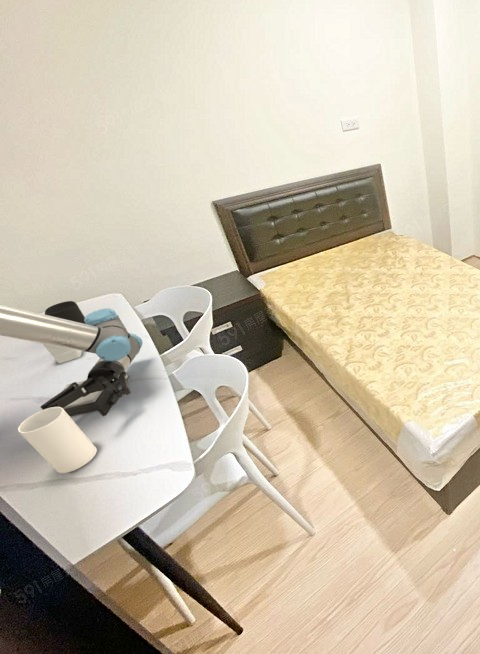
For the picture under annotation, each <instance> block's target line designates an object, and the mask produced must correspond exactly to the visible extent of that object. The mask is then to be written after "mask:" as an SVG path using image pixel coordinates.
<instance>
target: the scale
mask: <svg viewBox="0 0 480 654" xmlns="http://www.w3.org/2000/svg"><path fill="white" fill-rule="evenodd" d="M84 381H85V380H81V381H75V382H76V383H77V384H81V383H83V382H84ZM71 384H72V383H68V384H66V385H65V387H64V388H63V389H62V391H63V390H65V389H66V388H68V387H69V386H70V385H71ZM119 384H120V381H118V382H117V383H115V384H113V386H115V387H116V388H117V386H118V385H119ZM82 391H83V392H84V393H85V392H86V391H85V389H84V388H82ZM109 393H111V392H110V391H108V390H107V389H104V390H102V391H98V392H94V393H90V394H89V395H87V396H85V397H81V398H79V399H77V400H76V401H74V402H72V403H71V404H69V405H67V406H66V407H64V408H63V409H64V410H65V412H66V413H67V414H68V415H69V416H70V417H71V416H75V415H76V416H77V415H79V414H84V413H89V412H92V411H96V410H97V411H98V408H99V407H100V405H101V404H102V403H103V401H104V400H105V398H106V397H107V395H108V394H109Z"/></svg>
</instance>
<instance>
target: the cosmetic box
mask: <svg viewBox="0 0 480 654" xmlns="http://www.w3.org/2000/svg"><path fill="white" fill-rule="evenodd" d="M41 344H42V345H43V346H44V347H45V349H46V350H47V351H48V353H49V354H50V355H51V356H52V357H53V359H54V360H55V362H56V363H58V364H59V365H60V364H63V363H66V362H69V361H72V360H76V359H79V358H81V356H82V353H83V351H80V350H75V349H69V348H64V347H59V346H53V345H48V344H43V343H41Z"/></svg>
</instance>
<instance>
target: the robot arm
mask: <svg viewBox="0 0 480 654" xmlns="http://www.w3.org/2000/svg"><path fill="white" fill-rule="evenodd" d="M84 317H85V319H84V321H85V323H86V324H83V323H79V322H74V321H70V320H66V319H62V318H57V317H53V316H49V315H45V313H40V312H35V311H31V310H27V309H22V308H19V307H14V306H10V305H5V304H1V303H0V337H5V338H11V339H17V340H21V341H27V342H32V343H36V344H37V343H38V344H42V343H43V344H48V345H53V346H59V347H64V348H69V349H75V350H80V351H82V352H86V353H90V354H95V355H96V356H97V357H98V358H99V359H98V360H97V361H96V362H95V364H94V365H93V366H92V367H91V368H90V370H89V371H88V373H87V376H86V377H87V378H86V379H85V380H83V381H84V382H83V383H81V384H77V383H76V382H77V381H74V382H72V383H70V384H71V385H70V386H69V387H68V388H66V389H65V390H63V389H62V390H61V391H60V392H59V393H58V394H56V395H55V396H53V397H52V398H50V399H49V400H47V401H46V402H45V403H43V404H42V405H40V409H41V411H42V410H45V409H48V408H51V407H61V408H64V407H66V406H67V405H69V404H71V403H72V402H74V401H76V400H77V399H79V398H81V397H85V396H87V395H89V394H90V393H94V392H98V391H102V390H104V389H107V390H108V391H110V392H111V393H109V394H108V395H107V397H106V398H105V400H104V401H103V403H102V404H101V405H100V407H99V408H98V409H97V411H98V412H99V413H100V415H101V416H102V417H105V416H107V415H108V413H109V412H110V410H111V409H112V407H113V406H114V405H116V404H117V403H118V401H119V399H121V398H122V397H123V396H125V395H126V396H129V395H131V393H132V392H131V388H130V385H129V379H130V376H129V375H128V373H127V369H128V368H129V366H130V365H131V364H132V362H133V361H134V359H135V358H136V357H137V355H138V354H139V353H140V351H141V349H142V347H143V340H142V339H143V338H141V337H140V336H138V335H137V334H135V333H131V332H128V330H127V328H126V327H125V325H124V323H123V322H122V320H121V318H120V316H119V314H117V312H116V311H115V310H114V309H112V308H101V309H98V310H95V311H92V312H90V313H89V314H87V315H86V316H84ZM43 344H42V345H43ZM118 381H120V382H119V384H120V389H119V388H118V387H117V386H116V387H115V386H113V384H115V383H117V382H118ZM82 388H84V389H85V391H86V392H85V393H84V392H83V391H82Z"/></svg>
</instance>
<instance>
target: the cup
mask: <svg viewBox="0 0 480 654" xmlns="http://www.w3.org/2000/svg"><path fill="white" fill-rule="evenodd" d="M17 431H18V433H19V434H20V435H21V436H22V437H23V438H24V439H25V440H26V441H27V442H28V443H29V444H30V446H32V447H33V449H35V451H36V452H37V453H39V455H40V456H41V457H42V458H43V459H44V460H45V461H46V462H47V463H48V464H49V465H50V466H51V467H52V468H53V469H54V470H55V471H56V472H57V473H58V474H68V473H70V472H74V471H76V470H78V469H80V468H82V467H83V466H85V465H86V464H88V463H90V461H91V460H92V459H93V458H94V457H95V456H96V454H97V453H98V448H97V447H96V446H95V444H94V443H93V442H92V441H91V440H90V439H89V437H88V436H87V435H86V434H85V433H84V431H82V429H81V428H80V427H79V426H78V424H77V423H76V421H74V420H73V419H72V417H71V416H69V415H68V414H67V413H66V412H65V410H64V409H63V408H61V407H51V408H48V409H45V410H42V409H41V410H40V411H38V412H35V413H33V414H31V415H30V416H28V417H27V418H25V420H23V421H22V422H21V423H20V424H19V426H18V427H17Z"/></svg>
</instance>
